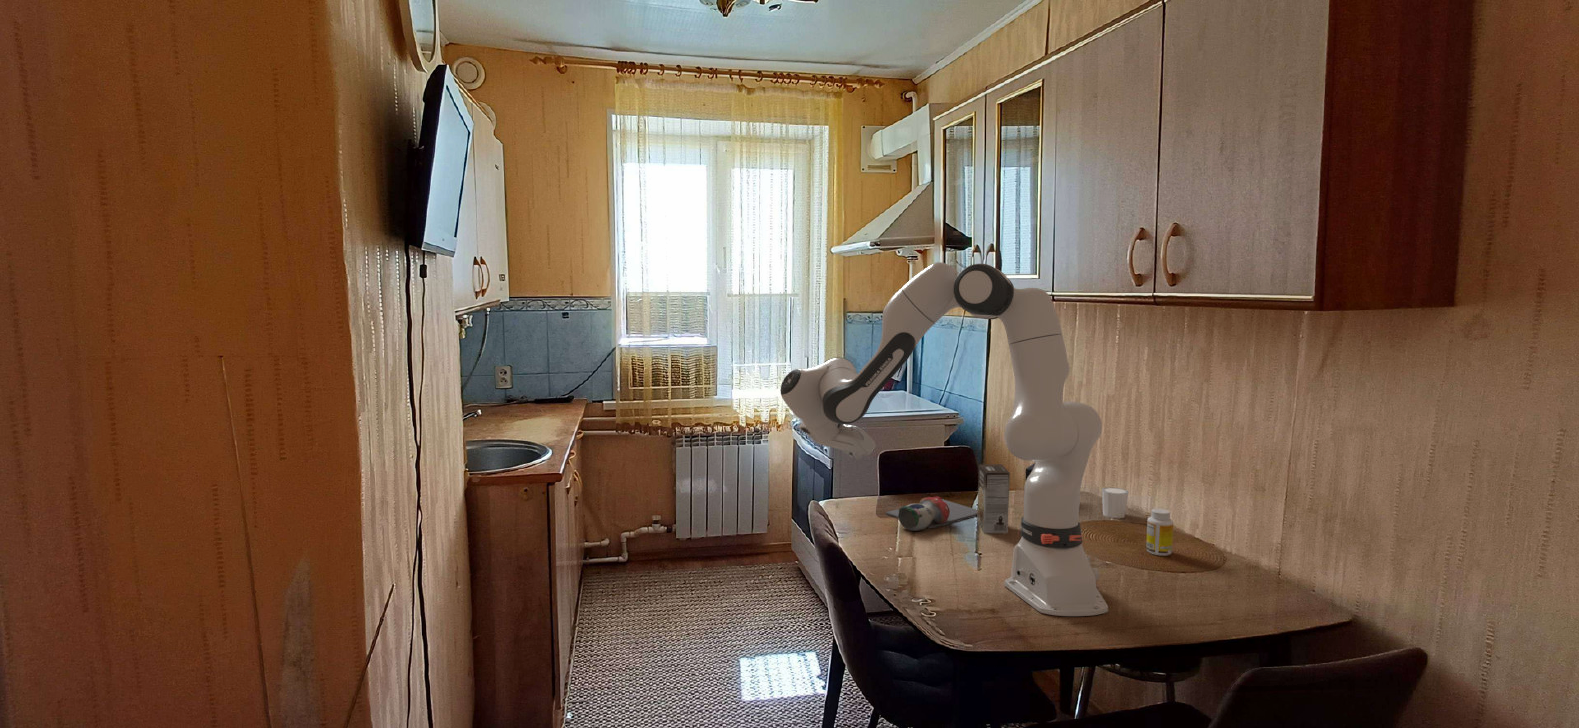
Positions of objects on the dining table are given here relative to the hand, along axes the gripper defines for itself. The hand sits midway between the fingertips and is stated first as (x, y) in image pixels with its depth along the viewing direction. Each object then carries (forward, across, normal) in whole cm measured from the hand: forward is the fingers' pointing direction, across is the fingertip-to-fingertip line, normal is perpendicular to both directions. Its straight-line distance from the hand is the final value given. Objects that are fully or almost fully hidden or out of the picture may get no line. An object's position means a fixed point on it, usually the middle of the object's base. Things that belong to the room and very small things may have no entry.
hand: (856, 456), depth 194 cm
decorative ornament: (+21, -5, +4) cm, 22 cm away
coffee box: (+38, -17, -8) cm, 42 cm away
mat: (+35, 0, -6) cm, 36 cm away
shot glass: (+63, -30, -33) cm, 77 cm away
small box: (+60, -9, -30) cm, 68 cm away
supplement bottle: (+50, -52, -19) cm, 75 cm away
